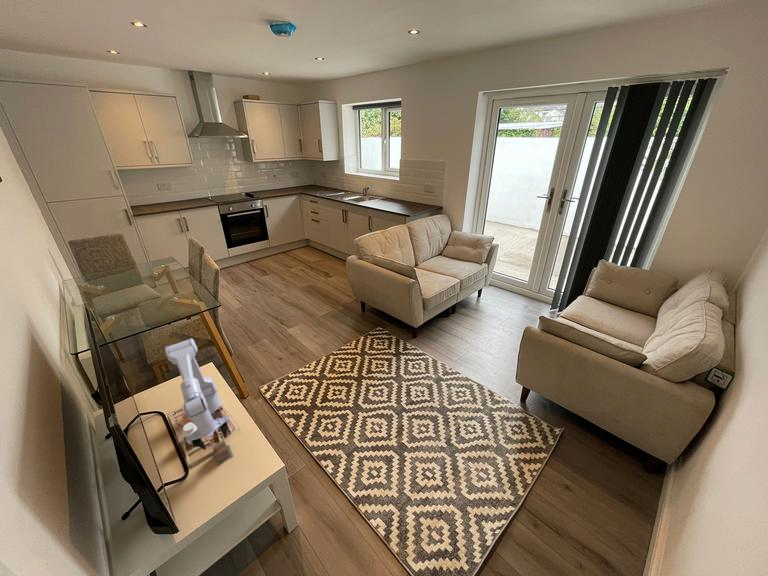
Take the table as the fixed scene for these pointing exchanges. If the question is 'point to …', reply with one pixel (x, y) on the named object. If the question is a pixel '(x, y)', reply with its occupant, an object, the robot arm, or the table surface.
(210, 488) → the table surface
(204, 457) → the beech tray
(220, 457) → the walnut block
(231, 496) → the table surface
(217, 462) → the slate coaster
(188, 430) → the supplement bottle
